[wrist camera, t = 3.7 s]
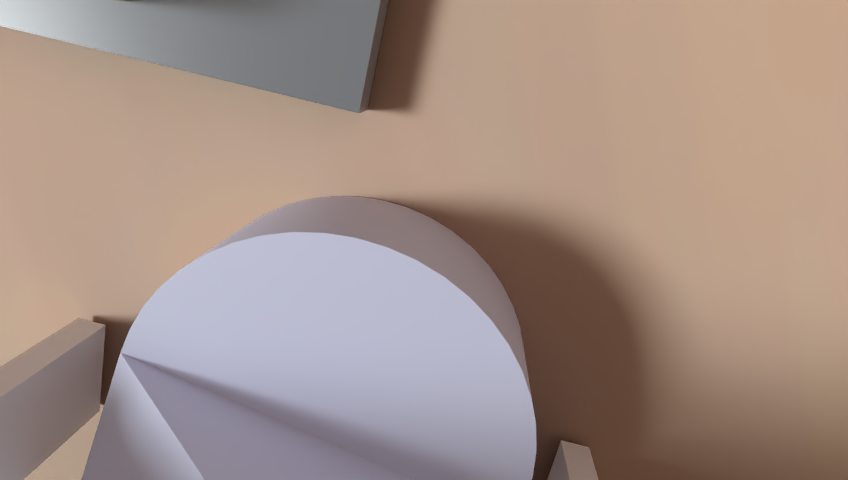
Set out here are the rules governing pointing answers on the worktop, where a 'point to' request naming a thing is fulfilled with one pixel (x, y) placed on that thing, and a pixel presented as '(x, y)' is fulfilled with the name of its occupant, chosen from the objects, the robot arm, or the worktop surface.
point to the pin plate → (229, 39)
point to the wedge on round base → (323, 358)
